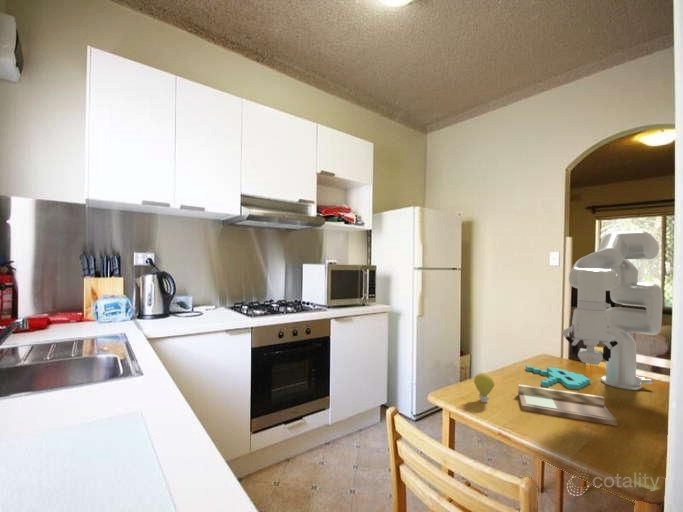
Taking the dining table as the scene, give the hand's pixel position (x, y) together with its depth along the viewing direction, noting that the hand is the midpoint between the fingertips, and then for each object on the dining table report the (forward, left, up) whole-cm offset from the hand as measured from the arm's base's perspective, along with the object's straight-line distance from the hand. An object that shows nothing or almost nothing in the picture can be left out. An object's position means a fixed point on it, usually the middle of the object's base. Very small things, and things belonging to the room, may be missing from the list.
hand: (590, 358), depth 110 cm
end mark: (+15, 0, -17) cm, 22 cm away
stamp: (0, 0, -2) cm, 2 cm away
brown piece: (+8, 0, -18) cm, 20 cm away
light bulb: (+33, +5, -19) cm, 38 cm away
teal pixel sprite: (+3, -31, -19) cm, 37 cm away
